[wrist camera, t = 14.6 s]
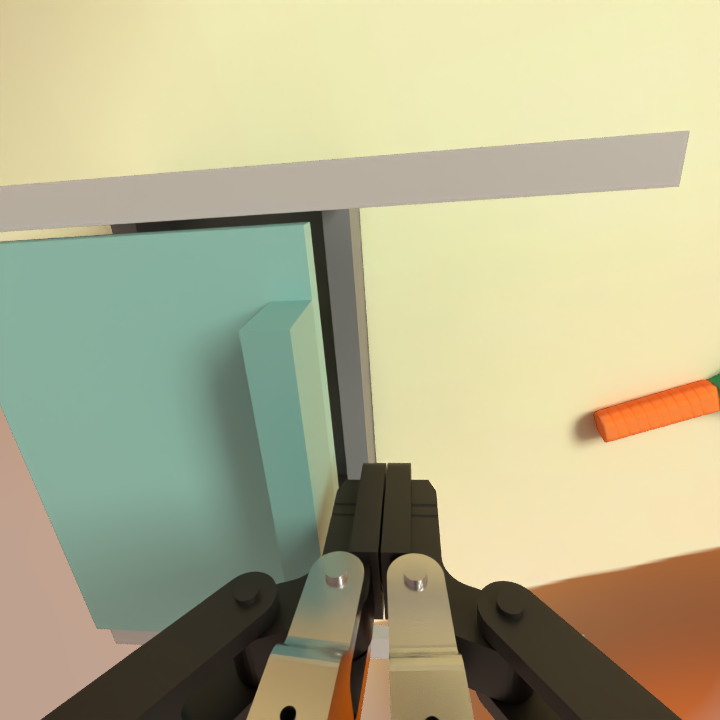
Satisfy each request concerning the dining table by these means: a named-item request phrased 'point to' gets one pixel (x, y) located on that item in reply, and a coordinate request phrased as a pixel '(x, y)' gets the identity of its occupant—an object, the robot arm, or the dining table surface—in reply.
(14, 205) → the housing
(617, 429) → the magnifying glass
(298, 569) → the lid
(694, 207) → the dining table surface
